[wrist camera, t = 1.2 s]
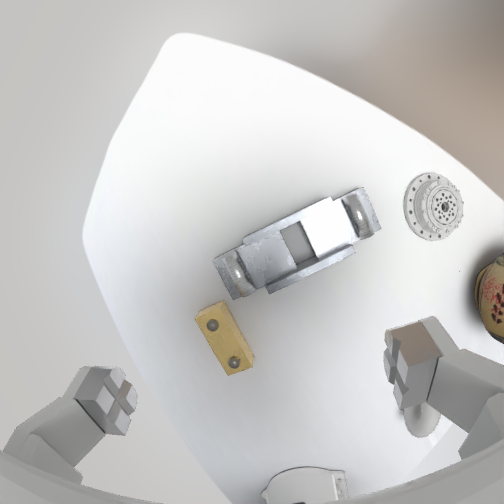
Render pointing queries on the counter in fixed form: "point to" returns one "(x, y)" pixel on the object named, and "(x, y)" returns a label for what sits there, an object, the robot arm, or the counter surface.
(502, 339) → the ceramic jug
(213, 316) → the gold block with knob
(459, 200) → the mechanical component
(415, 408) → the donut
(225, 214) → the counter surface
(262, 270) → the linear slide rail
